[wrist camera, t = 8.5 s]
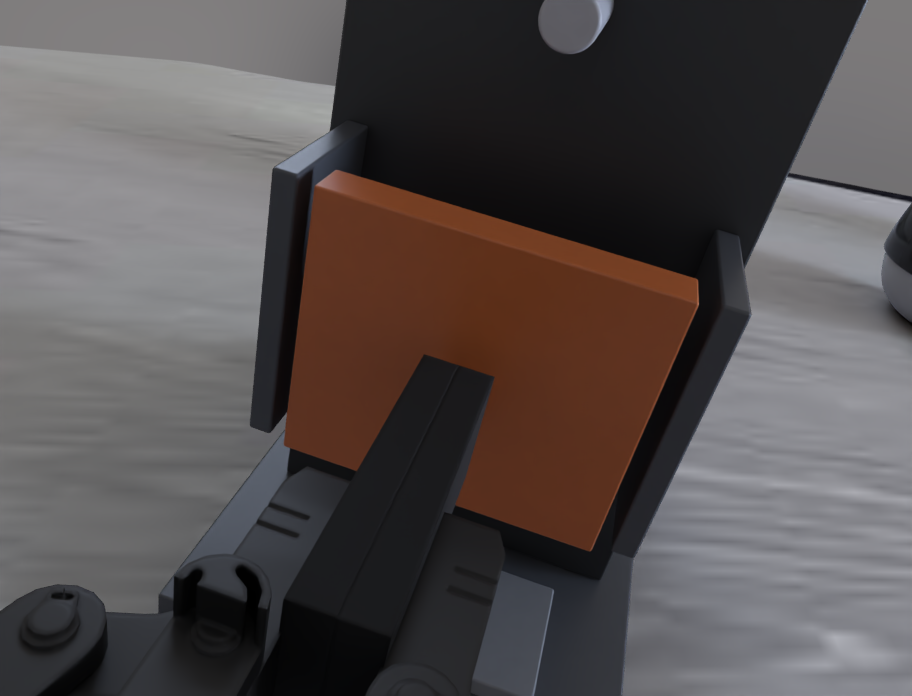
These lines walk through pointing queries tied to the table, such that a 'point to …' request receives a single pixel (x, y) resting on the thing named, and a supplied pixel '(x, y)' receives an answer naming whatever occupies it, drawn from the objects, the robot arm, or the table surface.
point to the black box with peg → (561, 232)
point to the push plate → (483, 347)
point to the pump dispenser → (899, 266)
